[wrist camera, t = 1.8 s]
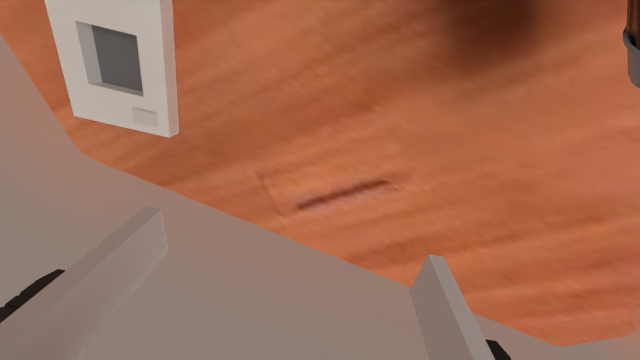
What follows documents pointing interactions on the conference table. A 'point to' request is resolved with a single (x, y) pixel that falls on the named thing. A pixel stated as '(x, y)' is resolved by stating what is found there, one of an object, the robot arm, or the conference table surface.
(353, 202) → the conference table surface
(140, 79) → the socket
